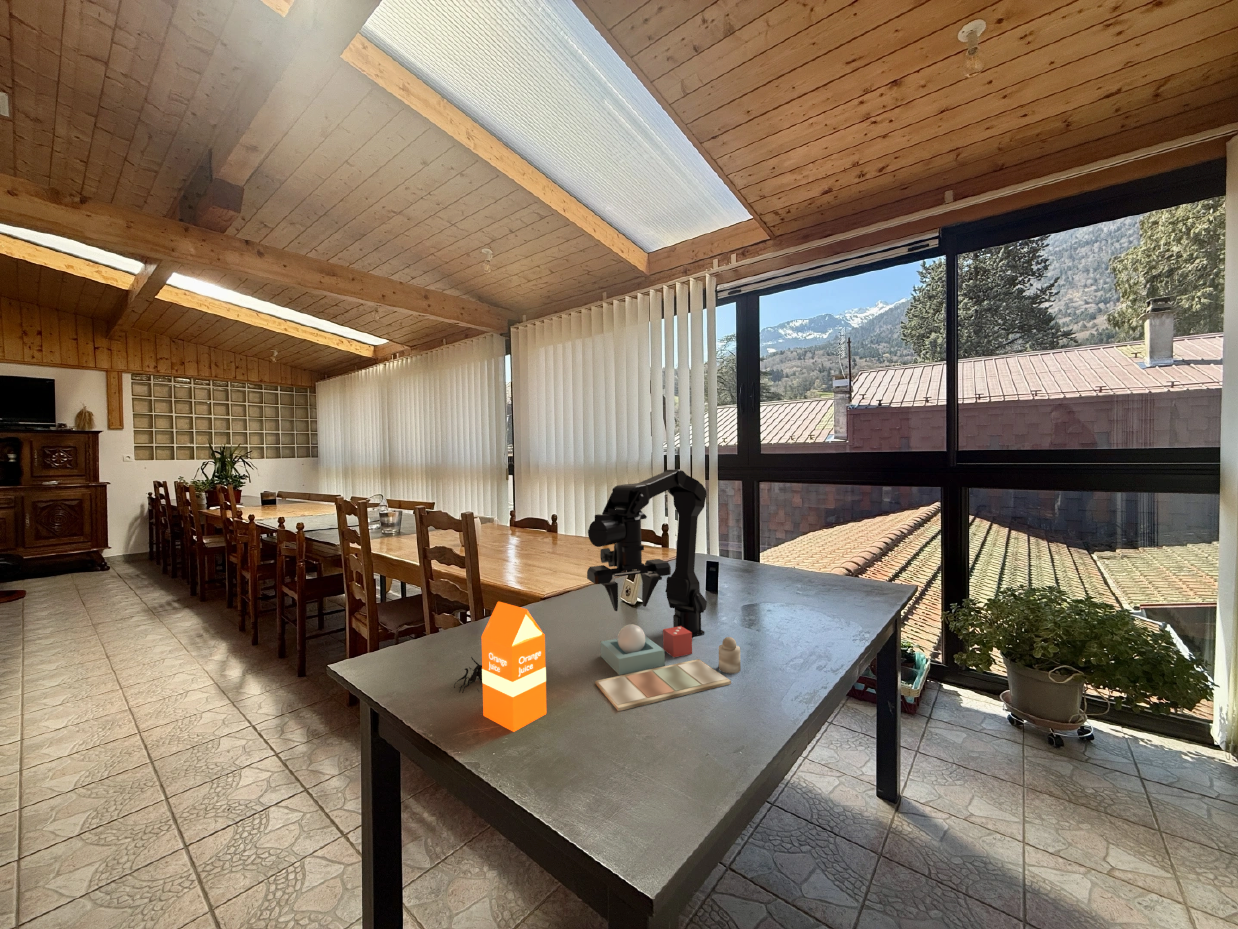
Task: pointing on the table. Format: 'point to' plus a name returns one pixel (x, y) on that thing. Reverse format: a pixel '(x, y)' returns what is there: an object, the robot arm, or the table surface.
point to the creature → (472, 675)
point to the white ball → (631, 639)
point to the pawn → (729, 656)
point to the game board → (660, 684)
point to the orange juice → (513, 668)
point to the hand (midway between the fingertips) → (630, 608)
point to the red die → (677, 641)
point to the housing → (632, 657)
